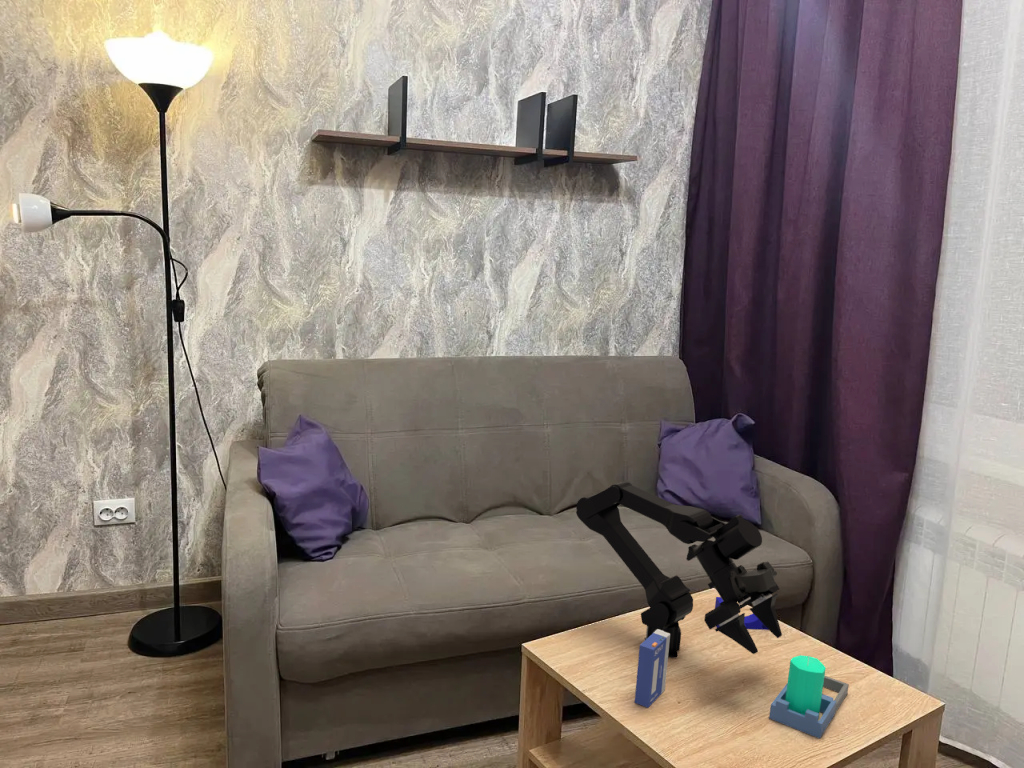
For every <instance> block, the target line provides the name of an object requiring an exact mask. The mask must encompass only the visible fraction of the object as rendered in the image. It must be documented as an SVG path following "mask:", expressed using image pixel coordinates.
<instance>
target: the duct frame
mask: <svg viewBox="0 0 1024 768" xmlns="http://www.w3.org/2000/svg"><path fill="white" fill-rule="evenodd" d="M849 686H850V685H849V683H846V682H843V681H842V680H838V679H835V678H832V677H829V676H826V675H825V676H824V684H823V688H825V689H829V690H831V691H834V692H837V695H836V697H835V698H834V697H832V696H829V695H827V694H823V693H822V698H821V705H820V713H822V716H821V717H820V713H816V712H814V711H811V710H808V709H807V711H806V712H805V715H803V714H800V713H797V712H795V711H792V710H790V709H788V708H789V702H787V701H785V699H786V691H787V683H786V684H785V685H784V686H783V688H782V689H781V691H780V692H779V693H778V695H776V697H775V699H774V700H773V701H772V702H771V703H770V708H769V716H768V718H769V719H770V720H773V721H774V722H777V723H779V724H783V725H784V726H788V727H789V728H792V729H795V730H797V731H800V732H801V733H805V734H808V735H810V736H812V737H815V738H817V739H821V737H822V736H823V734H824V733H825V731H826V729H827V728H828V726H829V725H828V724H830V723H831V721H832V720H833V718H834V717H835V715H836V713H837V712H836V711H838V710H839V708H840V706H841V705H842V703H843V701H844V700H845V698H846V697H847V695H848V691H849ZM818 717H819V718H820V719H819V720H818Z"/></svg>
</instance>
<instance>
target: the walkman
mask: <svg viewBox="0 0 1024 768" xmlns="http://www.w3.org/2000/svg"><path fill="white" fill-rule="evenodd" d="M669 642H670V633H667V632H664V631H662V630H659V629H657V630H656V631H655V632H654V633H653V634H652V635H650V636H649V637H648V638H647V639H646V640H645V639H644V641H643V642H642V643H640V644H639V651H638V659H637V660H638V661H637V671H636V682H635V683H636V684H635V694H634V703H635V704H637V705H640V706H642V707H644V708H647V709H648V708H649V707H650V706H651V705H652V704H654V702H655V701H656V700H657V699H658V698H659V697H660V696H661V695H662V694H663V692H664V691H665V690H666V681H667V672H668V662H669V661H668V660H669V657H668V652H669Z"/></svg>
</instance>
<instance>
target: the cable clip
mask: <svg viewBox="0 0 1024 768" xmlns="http://www.w3.org/2000/svg"><path fill="white" fill-rule="evenodd" d="M721 602H723V600H722V598H721V597H720V596H715V603H714V609H715V608H717V607H718V606H720V603H721ZM744 624H745V626H746V628H747V630H761V631H762V630H764V631H767V630H768V631H770V630H769V629H768V628H767V627H766V626H765V625H764V624H763V623H762V622H761V621H760V620H759V619H758V618H757V617H756V616H755V615H754V614H753V613H751V614H748V615H745V618H744ZM718 627H720V626H719V625H717V626H716V628H718Z"/></svg>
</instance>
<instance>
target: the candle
mask: <svg viewBox="0 0 1024 768" xmlns="http://www.w3.org/2000/svg"><path fill="white" fill-rule="evenodd" d="M789 661H790V662H789V668H788V669H789V670H788V678H787V683H786V684H787V691H786V699H785V701H787V702H789V708H788V709H790V710H792V711H795V712H797V713H800V714H803V715H805V712H806V711H807V709H808V710H811V711H814V712H816V713H819V714H820V713H821V712H820V705H821V698H822V694H823V690H824V689H823V688H824V687H823V684H824V676H826V669H827V668H826V666H825V665H824V664H823V663H822V662H821V661H820V660H819V659H818V658H817V657H813V656H810V655H801V654H800V655H796V656H793V657H791V659H790V660H789ZM819 718H820V716H819V717H818V721H819V720H820V719H819Z"/></svg>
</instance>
